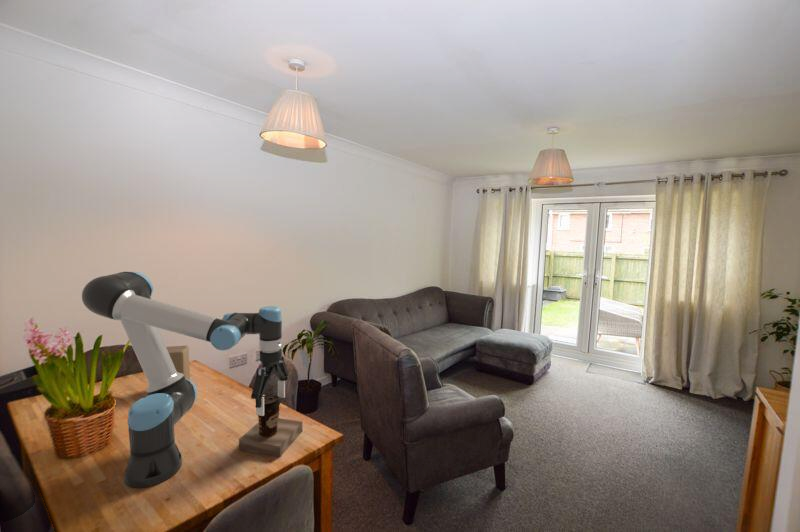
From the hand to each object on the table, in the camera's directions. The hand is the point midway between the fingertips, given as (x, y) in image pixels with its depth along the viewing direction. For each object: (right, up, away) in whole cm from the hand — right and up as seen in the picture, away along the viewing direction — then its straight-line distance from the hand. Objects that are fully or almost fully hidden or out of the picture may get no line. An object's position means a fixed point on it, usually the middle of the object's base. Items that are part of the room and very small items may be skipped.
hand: (271, 405), depth 130 cm
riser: (0, -13, +1) cm, 14 cm away
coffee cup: (-1, -10, -1) cm, 10 cm away
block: (-60, -8, +40) cm, 73 cm away
